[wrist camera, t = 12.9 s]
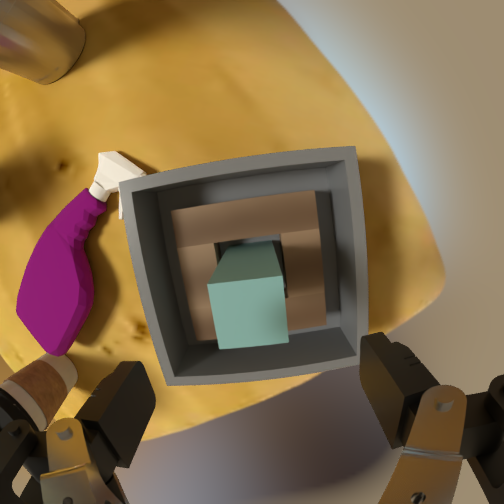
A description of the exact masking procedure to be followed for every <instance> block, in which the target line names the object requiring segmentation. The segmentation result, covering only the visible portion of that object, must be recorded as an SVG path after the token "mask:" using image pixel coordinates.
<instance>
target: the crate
mask: <svg viewBox="0 0 504 504" xmlns="http://www.w3.org/2000/svg"><path fill="white" fill-rule="evenodd" d="M119 189H120V197H121V203H122V210H123V216H124V222H125V228H126V233H127V239H128V244H129V249H130V254H131V259H132V264H133V268H134V273H135V277H136V281H137V286H138V290H139V294H140V298H141V302H142V306H143V309H144V313H145V317H146V320H147V324H148V328H149V331H150V334H151V338H152V341H153V344H154V348H155V351H156V354H157V357H158V360H159V363H160V366H161V369H162V372H163V375H164V378H165V381H166V384H167V386H179V385H209V384H226V383H239V382H250V381H260V380H269V379H277V378H285V377H292V376H299V375H305V374H311V373H317V372H323V371H328V370H334V369H339V368H344V367H348V366H354V365H358V364H360V340H361V337H362V336H365V335H368V264H367V246H366V231H365V219H364V209H363V199H362V190H361V182H360V174H359V167H358V160H357V154H356V147H355V146H346V147H331V148H318V149H307V150H296V151H287V152H278V153H270V154H262V155H255V156H247V157H241V158H234V159H228V160H222V161H216V162H210V163H204V164H199V165H193V166H188V167H183V168H178V169H173V170H168V171H164V172H159V173H155V174H150V175H146V176H142V177H137V178H133V179H129V180H125V181H121V182H119ZM308 190H315V198H316V206H317V214H318V223H319V232H320V242H321V253H322V264H323V276H324V289H325V304H326V322H327V325H323V326H317V327H311V328H305V329H298V330H291V331H288V338H289V342H288V343H280V344H272V345H262V346H253V347H242V348H231V349H219V345H218V340H217V339H214V340H201V341H197V339H196V335H195V331H194V327H193V322H192V318H191V314H190V309H189V305H188V300H187V296H186V291H185V286H184V281H183V277H182V272H181V267H180V261H179V256H178V251H177V245H176V240H175V234H174V228H173V222H172V216H171V211H173V210H178V209H183V208H189V207H195V206H201V205H207V204H213V203H219V202H226V201H232V200H239V199H246V198H253V197H260V196H268V195H275V194H283V193H291V192H300V191H308ZM269 240H272V243H273V246H274V250H275V253H276V256H277V259H278V263H279V266H280V269H281V272H282V276H283V285H284V287H285V278H284V270H283V262H282V254H281V246H280V238H279V234H274V235H267V236H260V237H252V238H245V239H238V240H231V241H224V242H219V245H220V251H221V257H222V256H223V255H224V253H225V251H226V249H227V247H228V246H229V245H236V244H244V243H252V242H260V241H269Z"/></svg>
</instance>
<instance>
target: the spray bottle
mask: <svg viewBox="0 0 504 504" xmlns="http://www.w3.org/2000/svg"><path fill="white" fill-rule="evenodd" d="M142 176H146V172H145V171H143V170H142V169H140V168H139V167H138V166H136V165H135V164H133V163H132V162H130V161H129V160H128V159H126V158H125V157H123V156H122V155H121V154H119V153H118V152H116V151H111V152H102V153H99V165H98V169H97V172H96V175H95V177H94V180H95V181H94V182H93V184H92V185H91V187H90V189H87V188H85V189H84V190H83V191H82V192H81V193H80V194H78V195H77V196H76V197H75V198H74V199H73V200H72V201H71V202H70V203H69V204H68V205H67V206H66V207H65V208H64V209H63V210H62V211H61V212H60V213H59V214H58V215H57V216H56V218H55V219H54V220H53V221H52V222H51V223H50V224H49V225H48V226H47V228H46V229H45V231H44V232H43V234H42V236H41V237H40V239H39V241H38V242H37V244H36V246H35V248H34V250H33V253H32V255H31V257H30V259H29V262H28V264H27V266H26V269H25V273H24V276H23V279H22V282H21V286H20V289H19V293H18V297H17V306H16V312H17V315H18V316H19V318H20V319H21V321H22V322H23V323H24V325H25V326H26V327H27V329H28V330H29V331H30V333H31V334H32V335H33V336H34V338H35V339H36V340H37V342H38V343H39V344H40V345H41V346H42V348H43V349H44V350H45V351H46V352H47V353H49V354H51V355H54V356H57V357H59V356H62V355H64V354H65V353H67V351H68V350H69V348H70V347H71V345H72V344H73V342H74V341H75V339H76V337H77V335H78V333H79V331H80V329H81V328H82V326H83V324H84V322H85V320H86V319H87V317H88V315H89V312H90V310H91V308H92V305H93V299H94V285H93V276H92V272H91V268H90V265H89V261H88V258H87V256H86V253H85V250H84V242H85V240H86V238H87V237H88V233H89V230H90V229H91V228H92V227H94V226H95V224H96V220H97V216H98V215H100V214H102V213H104V212H105V211H106V209H107V203H106V200H107V198H108V197H109V195H110V193H111V192H113V193H114V192H117V191H119V193H120V189H119V182H121V181H125V180H129V179H133V178H137V177H142ZM119 219H121V220H122V219H124V216H123V210H122V203H121V197H120V198H119Z"/></svg>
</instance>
